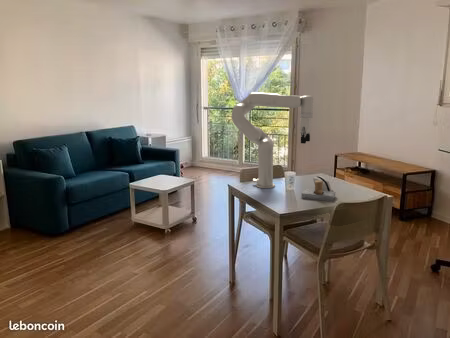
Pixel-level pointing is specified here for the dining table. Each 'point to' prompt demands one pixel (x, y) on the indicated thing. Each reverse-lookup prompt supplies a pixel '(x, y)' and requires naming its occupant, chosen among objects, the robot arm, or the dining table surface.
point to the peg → (318, 187)
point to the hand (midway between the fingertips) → (305, 142)
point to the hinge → (325, 183)
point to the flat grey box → (318, 195)
